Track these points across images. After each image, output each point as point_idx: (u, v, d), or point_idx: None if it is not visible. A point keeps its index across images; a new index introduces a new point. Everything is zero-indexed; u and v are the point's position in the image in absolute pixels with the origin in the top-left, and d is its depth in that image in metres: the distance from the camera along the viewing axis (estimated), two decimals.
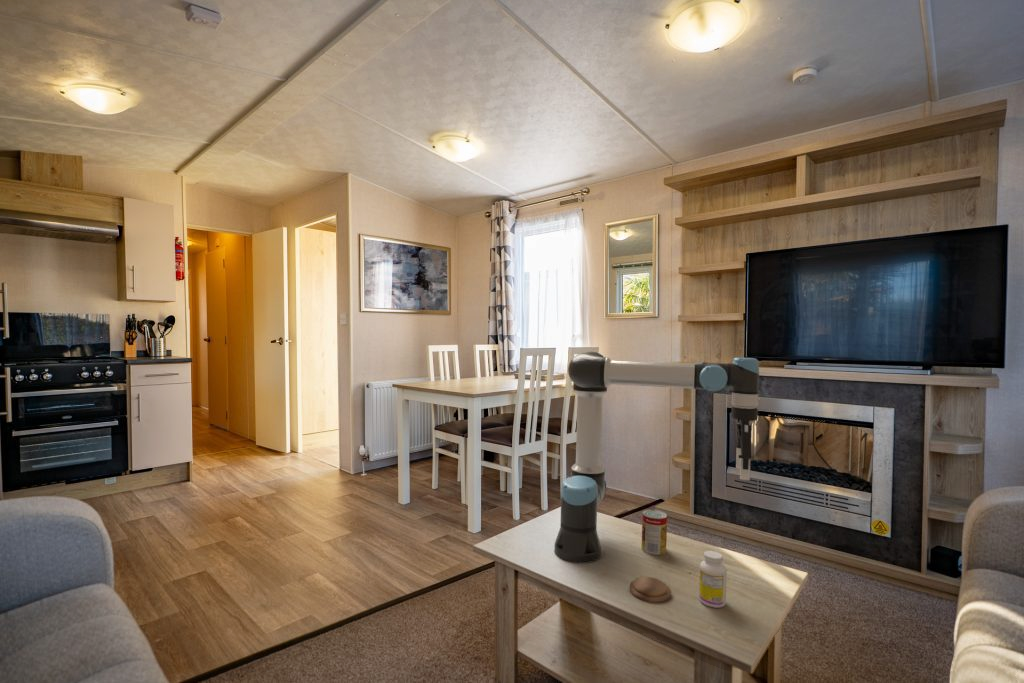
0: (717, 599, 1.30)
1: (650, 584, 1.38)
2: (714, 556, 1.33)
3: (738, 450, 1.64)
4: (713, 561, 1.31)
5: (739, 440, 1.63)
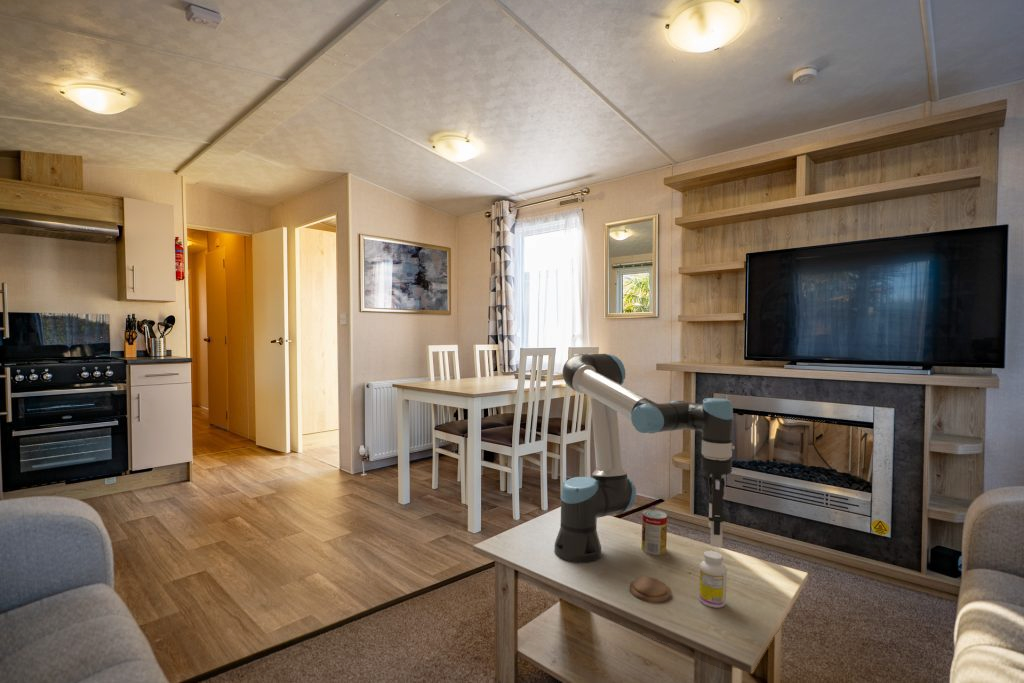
0: (717, 599, 1.30)
1: (650, 584, 1.38)
2: (714, 556, 1.33)
3: (711, 506, 1.40)
4: (713, 561, 1.31)
5: None
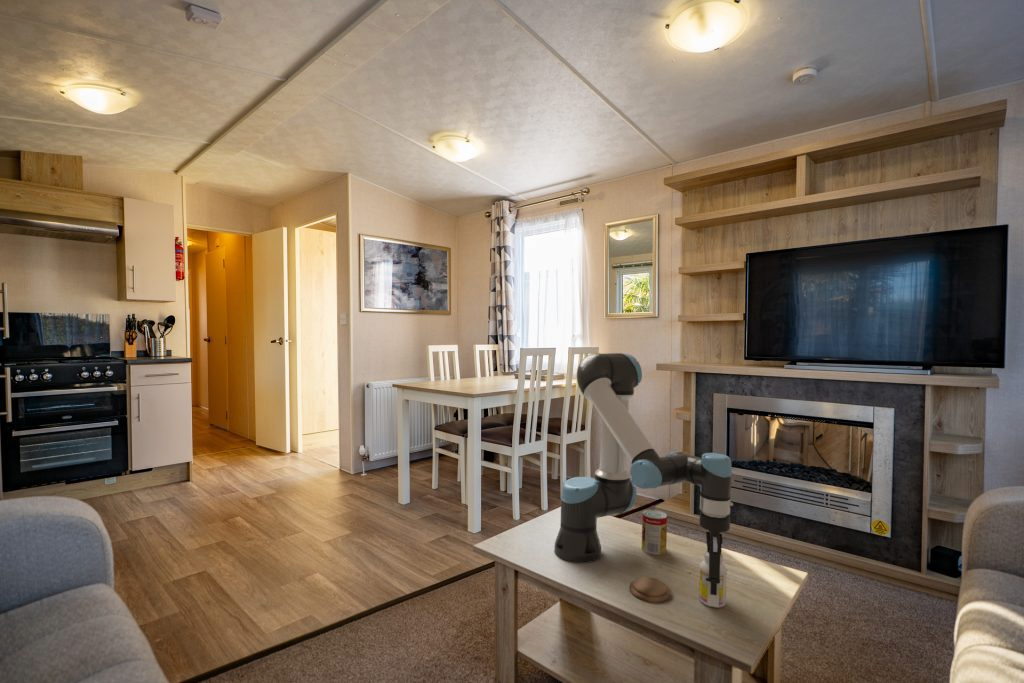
0: None
1: (650, 584, 1.38)
2: None
3: None
4: None
5: None
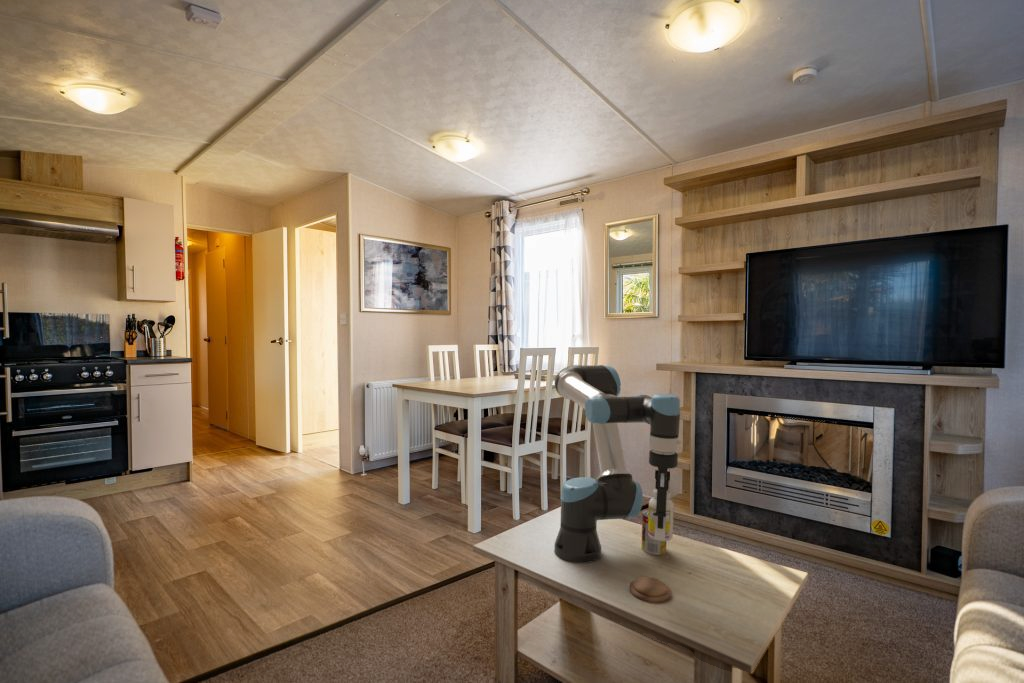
0: None
1: (650, 584, 1.38)
2: None
3: None
4: None
5: None
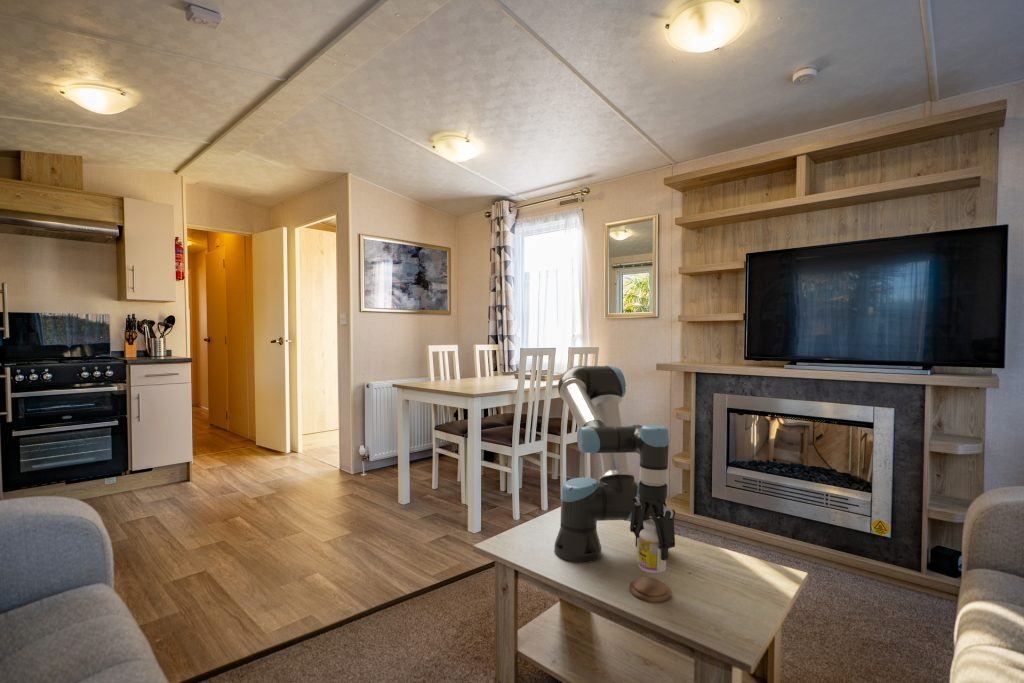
0: None
1: (650, 584, 1.38)
2: None
3: None
4: None
5: (642, 524, 1.40)
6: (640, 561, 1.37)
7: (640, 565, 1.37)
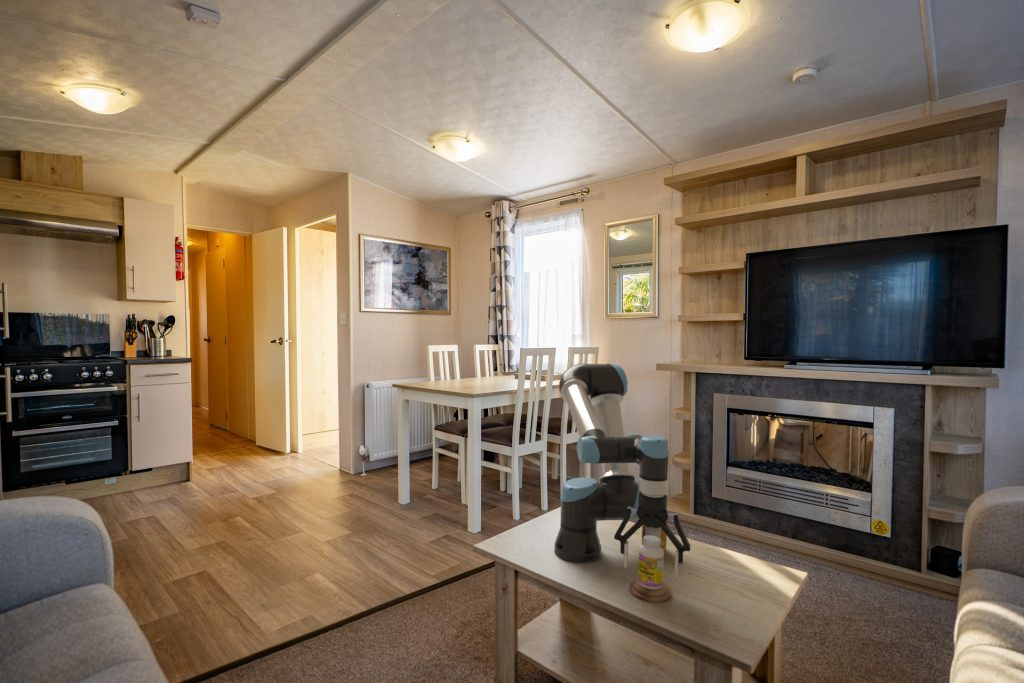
0: None
1: None
2: (655, 539, 1.38)
3: (627, 545, 1.39)
4: (660, 543, 1.37)
5: (633, 533, 1.39)
6: (646, 580, 1.36)
7: (646, 584, 1.36)
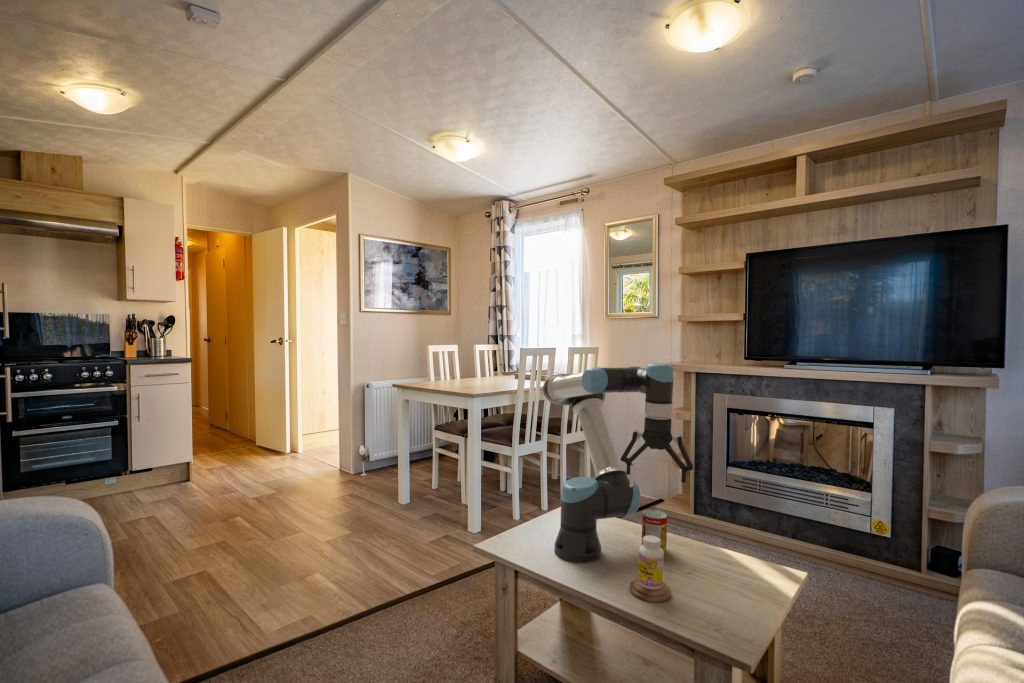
0: None
1: None
2: (655, 539, 1.38)
3: (633, 466, 1.47)
4: (660, 543, 1.37)
5: (638, 455, 1.47)
6: (646, 580, 1.36)
7: (646, 584, 1.36)
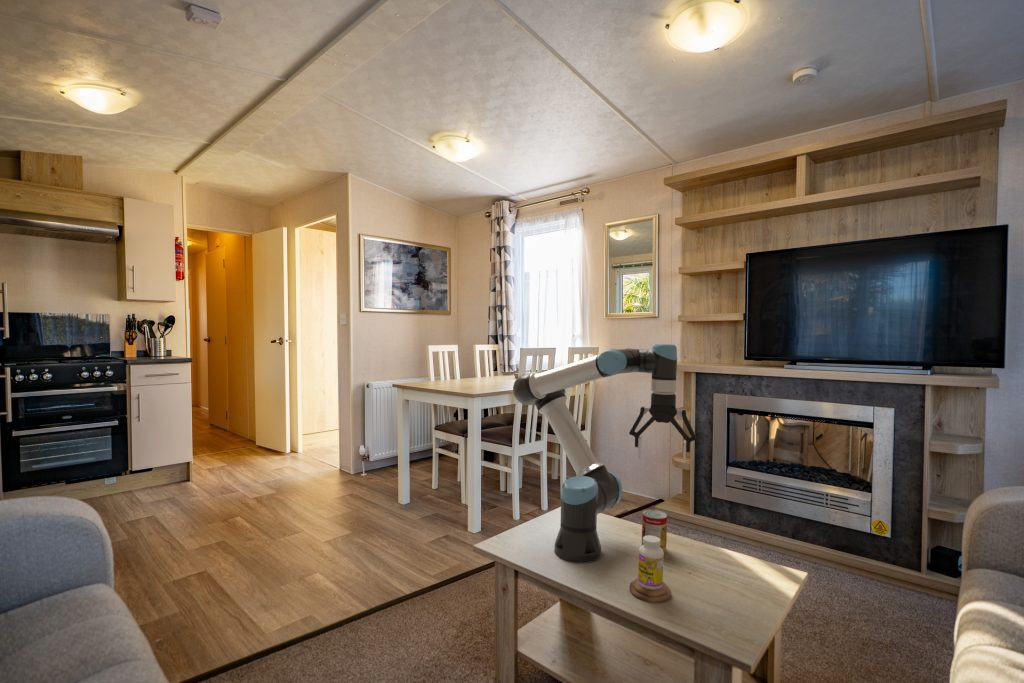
0: None
1: None
2: (655, 539, 1.38)
3: (641, 439, 1.59)
4: None
5: (646, 428, 1.59)
6: (645, 580, 1.36)
7: (646, 584, 1.36)
